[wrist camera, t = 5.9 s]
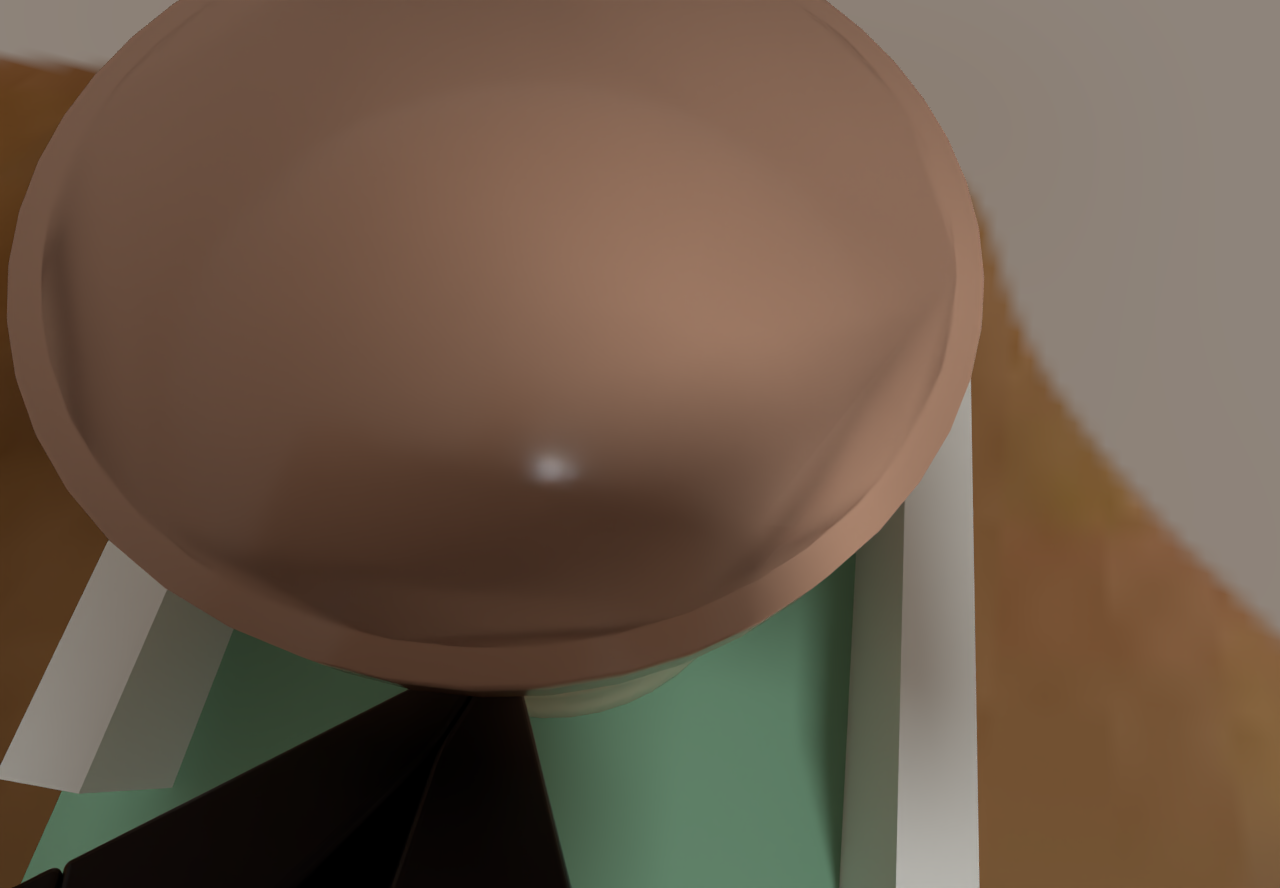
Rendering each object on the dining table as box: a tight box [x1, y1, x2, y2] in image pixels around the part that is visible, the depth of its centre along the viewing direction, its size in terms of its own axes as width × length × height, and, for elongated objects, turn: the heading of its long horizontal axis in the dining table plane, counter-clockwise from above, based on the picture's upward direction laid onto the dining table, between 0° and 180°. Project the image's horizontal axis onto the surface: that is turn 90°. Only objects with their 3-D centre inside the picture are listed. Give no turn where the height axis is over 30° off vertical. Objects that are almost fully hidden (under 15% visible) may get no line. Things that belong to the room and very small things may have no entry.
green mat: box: [21, 552, 856, 888], centre depth 13 cm, size 25×15×1 cm, turn 170°
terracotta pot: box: [7, 0, 984, 718], centre depth 11 cm, size 8×8×9 cm
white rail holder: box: [0, 379, 979, 888], centre depth 14 cm, size 12×14×2 cm
